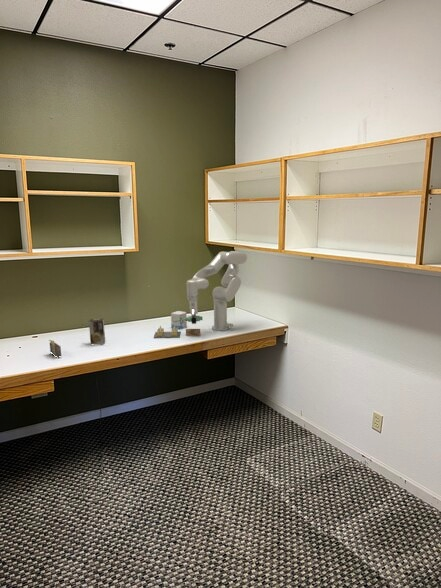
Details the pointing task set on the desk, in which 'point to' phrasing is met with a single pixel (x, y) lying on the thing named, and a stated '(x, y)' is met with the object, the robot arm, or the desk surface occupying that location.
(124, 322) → the desk surface
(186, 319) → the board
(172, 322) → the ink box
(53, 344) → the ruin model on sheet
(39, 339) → the desk surface
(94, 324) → the coffee box
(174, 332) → the chassis
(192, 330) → the block
